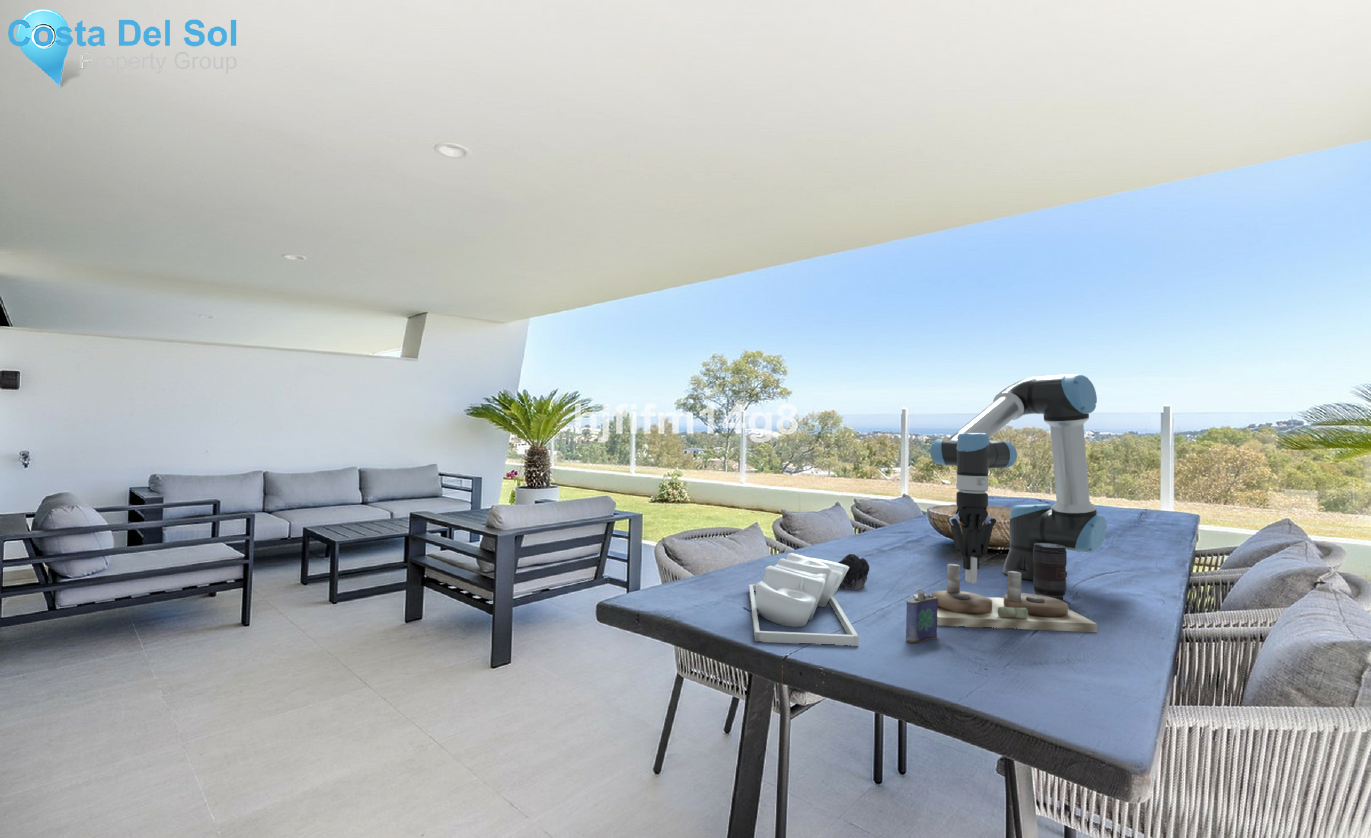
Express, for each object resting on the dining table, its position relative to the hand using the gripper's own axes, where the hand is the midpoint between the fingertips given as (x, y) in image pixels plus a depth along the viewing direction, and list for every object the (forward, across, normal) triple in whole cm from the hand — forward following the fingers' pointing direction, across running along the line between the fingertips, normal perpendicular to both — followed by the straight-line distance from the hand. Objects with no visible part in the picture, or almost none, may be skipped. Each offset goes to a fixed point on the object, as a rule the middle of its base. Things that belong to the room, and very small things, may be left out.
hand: (970, 581), depth 159 cm
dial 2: (+5, +12, -9) cm, 15 cm away
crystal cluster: (+7, -23, +27) cm, 36 cm away
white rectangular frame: (+7, -48, 0) cm, 48 cm away
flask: (+7, -26, -20) cm, 34 cm away
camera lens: (+7, +29, +7) cm, 31 cm away
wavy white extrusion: (+7, -46, +4) cm, 46 cm away
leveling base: (+7, +3, -6) cm, 10 cm away
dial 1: (+5, -6, -4) cm, 9 cm away
